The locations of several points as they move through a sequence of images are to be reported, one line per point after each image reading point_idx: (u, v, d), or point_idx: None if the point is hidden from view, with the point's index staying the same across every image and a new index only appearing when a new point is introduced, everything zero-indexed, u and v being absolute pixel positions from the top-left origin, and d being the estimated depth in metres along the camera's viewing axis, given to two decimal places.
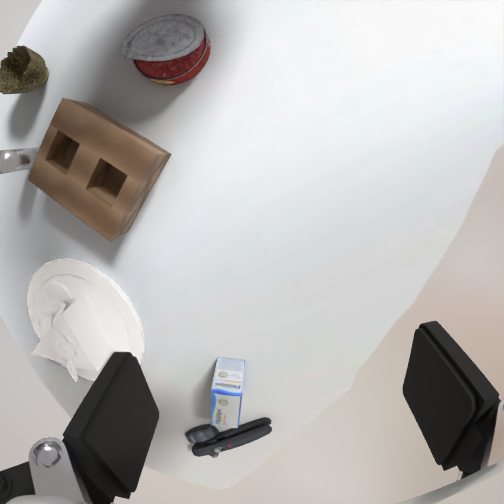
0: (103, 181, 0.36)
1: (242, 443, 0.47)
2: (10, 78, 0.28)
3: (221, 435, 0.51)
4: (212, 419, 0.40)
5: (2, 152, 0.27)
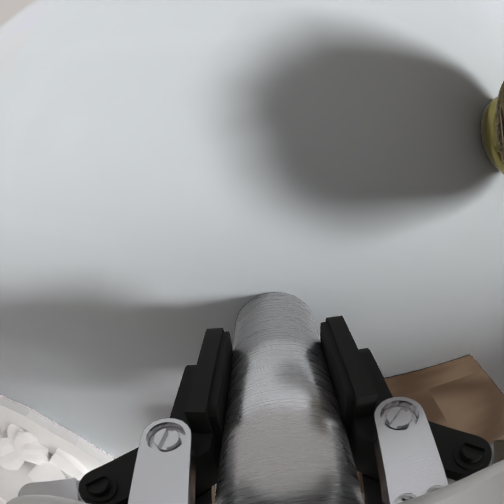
0: None
1: None
2: None
3: None
4: None
5: None
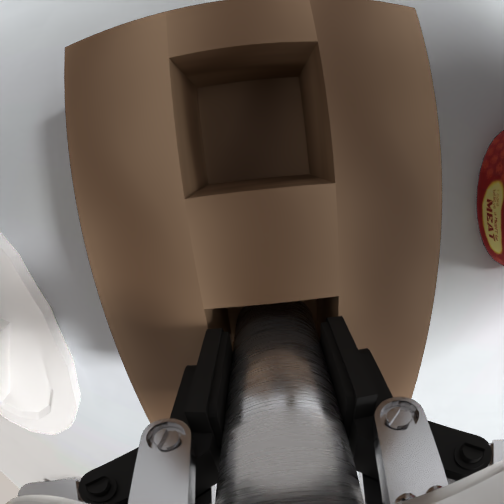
0: None
1: None
2: None
3: None
4: None
5: None
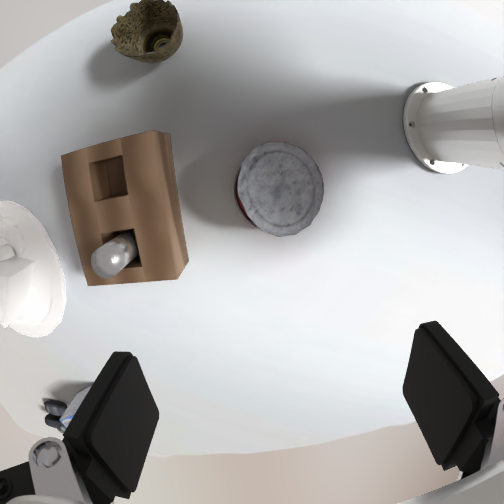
0: None
1: None
2: (136, 20, 0.24)
3: None
4: (64, 420, 0.39)
5: (113, 257, 0.27)
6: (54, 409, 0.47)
